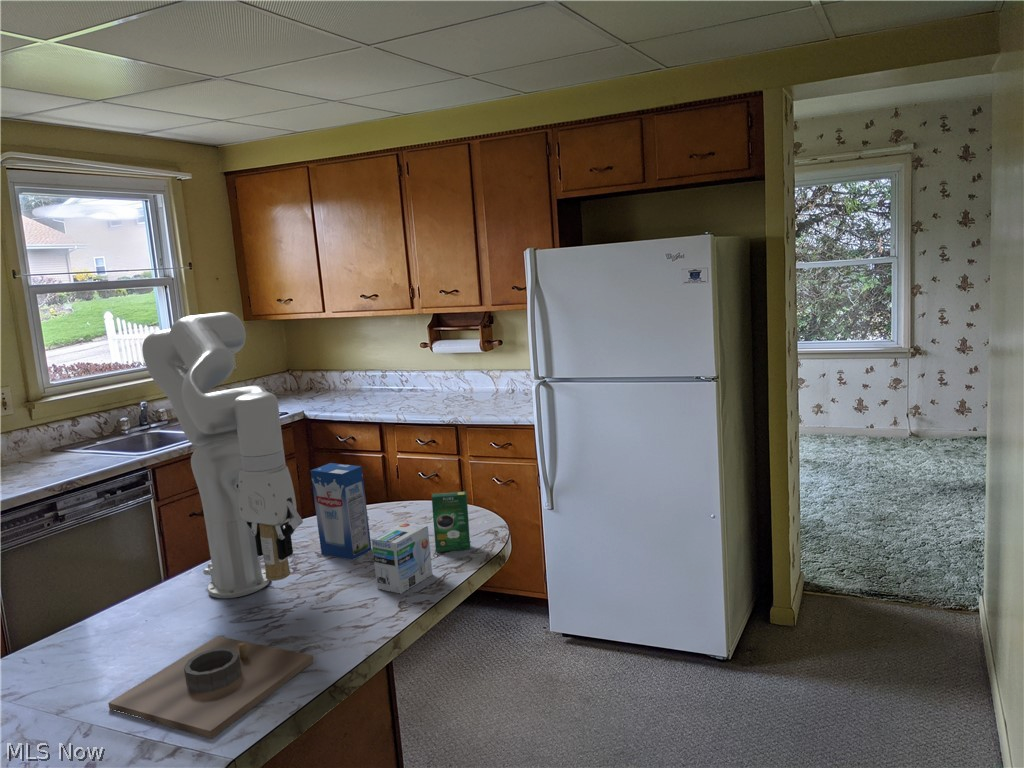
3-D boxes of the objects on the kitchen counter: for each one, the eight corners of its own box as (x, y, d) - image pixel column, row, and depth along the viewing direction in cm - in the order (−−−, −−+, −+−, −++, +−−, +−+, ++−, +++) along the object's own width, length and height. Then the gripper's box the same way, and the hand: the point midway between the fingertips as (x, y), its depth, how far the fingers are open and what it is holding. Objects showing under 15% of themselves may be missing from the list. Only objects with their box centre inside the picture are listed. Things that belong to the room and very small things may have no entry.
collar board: (109, 709, 121) (104, 685, 121) (218, 642, 141) (215, 620, 140) (211, 738, 112) (207, 712, 111) (313, 661, 131) (310, 638, 130)
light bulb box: (401, 595, 154) (395, 543, 152) (375, 589, 158) (369, 539, 156) (434, 574, 163) (429, 524, 161) (409, 569, 167) (403, 521, 165)
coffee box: (471, 544, 177) (466, 489, 175) (471, 549, 174) (466, 493, 172) (436, 548, 177) (430, 493, 175) (435, 553, 174) (430, 497, 172)
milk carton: (371, 550, 179) (361, 466, 176) (352, 560, 174) (342, 474, 171) (340, 544, 185) (330, 462, 181) (321, 554, 180) (310, 470, 176)
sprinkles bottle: (293, 576, 145) (285, 508, 142) (269, 584, 143) (260, 514, 140) (286, 568, 149) (277, 501, 146) (262, 575, 146) (253, 507, 144)
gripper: (213, 463, 142) (226, 557, 145) (284, 470, 134) (296, 569, 138) (244, 451, 148) (256, 541, 152) (313, 458, 141) (324, 553, 144)
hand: (275, 554), depth 145 cm, fingers closed on sprinkles bottle, 4 cm apart
